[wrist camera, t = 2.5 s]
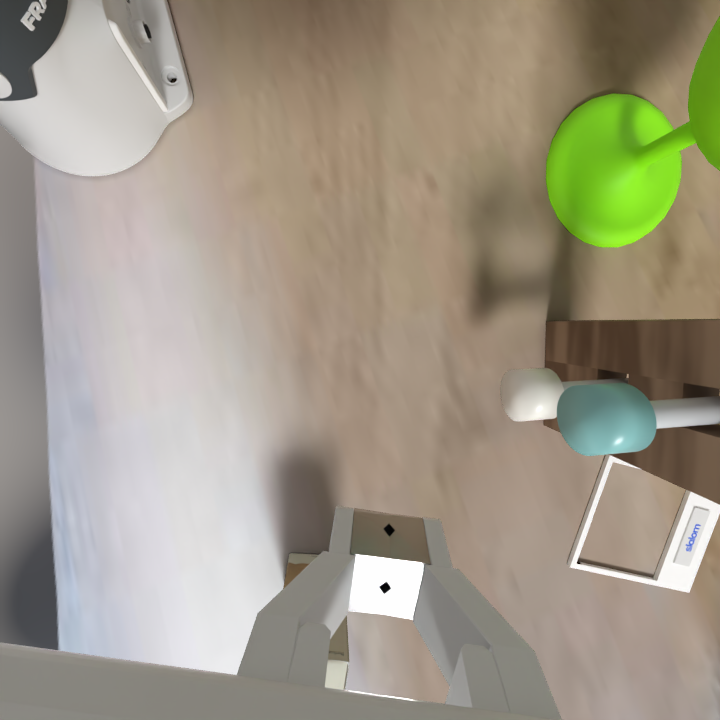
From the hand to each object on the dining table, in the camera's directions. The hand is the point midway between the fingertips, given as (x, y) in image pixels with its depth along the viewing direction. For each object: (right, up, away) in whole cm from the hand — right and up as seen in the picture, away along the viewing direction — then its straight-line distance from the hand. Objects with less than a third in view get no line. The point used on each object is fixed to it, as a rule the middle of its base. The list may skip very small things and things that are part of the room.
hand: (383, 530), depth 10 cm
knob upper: (+19, +2, +15) cm, 24 cm away
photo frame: (+36, -16, +34) cm, 51 cm away
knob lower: (+18, +2, +22) cm, 29 cm away
